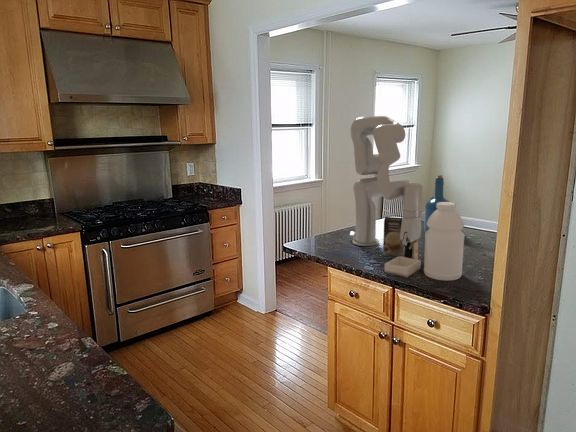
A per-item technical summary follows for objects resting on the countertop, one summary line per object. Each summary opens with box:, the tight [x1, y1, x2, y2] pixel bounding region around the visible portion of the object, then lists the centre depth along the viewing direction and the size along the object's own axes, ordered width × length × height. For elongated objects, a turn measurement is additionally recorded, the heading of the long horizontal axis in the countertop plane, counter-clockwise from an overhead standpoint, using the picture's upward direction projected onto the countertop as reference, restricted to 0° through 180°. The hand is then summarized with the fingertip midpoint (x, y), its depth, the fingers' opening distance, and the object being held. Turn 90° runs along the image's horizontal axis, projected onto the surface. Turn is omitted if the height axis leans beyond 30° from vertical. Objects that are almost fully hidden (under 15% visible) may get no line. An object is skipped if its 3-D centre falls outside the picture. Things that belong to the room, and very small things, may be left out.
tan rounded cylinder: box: [403, 240, 419, 260], centre depth 180 cm, size 4×4×9 cm
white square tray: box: [384, 256, 422, 278], centre depth 171 cm, size 10×12×4 cm
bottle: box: [423, 201, 466, 282], centre depth 163 cm, size 14×14×28 cm
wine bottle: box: [423, 174, 450, 233], centre depth 220 cm, size 14×13×30 cm
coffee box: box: [382, 216, 404, 257], centre depth 190 cm, size 9×6×16 cm
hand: (410, 255), depth 180 cm, fingers closed on tan rounded cylinder, 3 cm apart
